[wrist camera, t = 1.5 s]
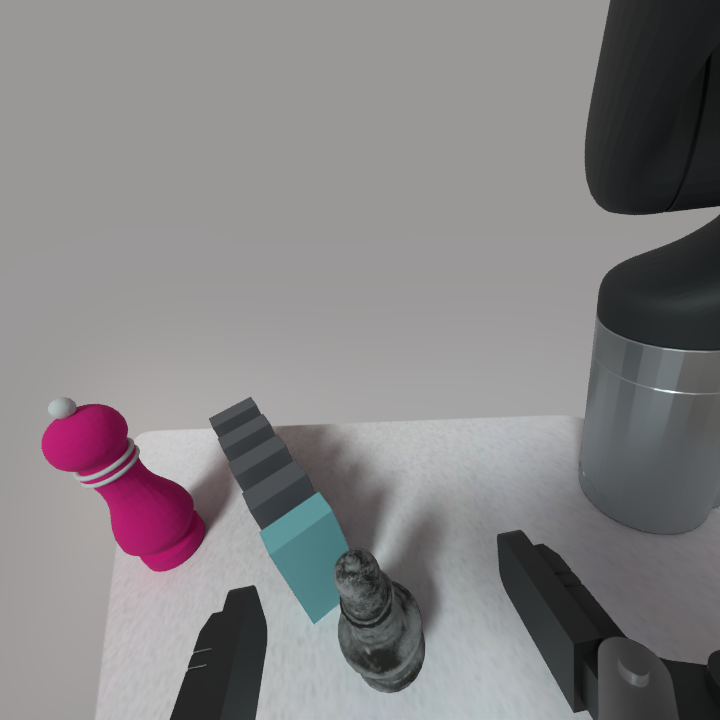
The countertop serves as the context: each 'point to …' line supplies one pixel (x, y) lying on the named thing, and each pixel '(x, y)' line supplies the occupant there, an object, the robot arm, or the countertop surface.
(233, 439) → the domino
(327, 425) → the countertop surface
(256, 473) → the domino
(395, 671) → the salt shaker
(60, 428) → the pepper mill
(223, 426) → the domino
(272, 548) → the domino
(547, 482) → the countertop surface
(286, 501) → the domino
